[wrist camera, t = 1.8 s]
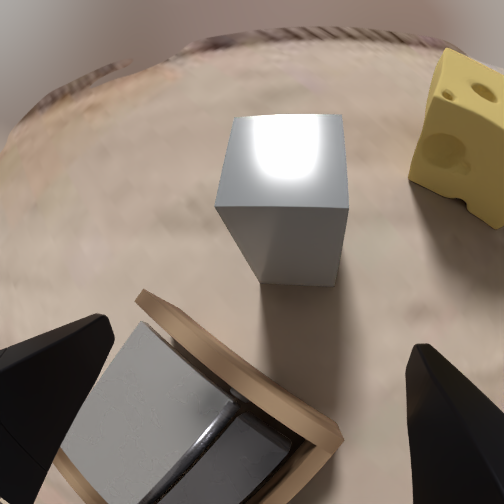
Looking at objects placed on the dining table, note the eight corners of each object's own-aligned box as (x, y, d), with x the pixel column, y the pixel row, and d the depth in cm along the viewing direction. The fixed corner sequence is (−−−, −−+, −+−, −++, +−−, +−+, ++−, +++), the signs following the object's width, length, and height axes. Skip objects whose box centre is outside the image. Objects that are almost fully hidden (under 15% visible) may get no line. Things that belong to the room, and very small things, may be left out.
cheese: (497, 234, 20) (555, 168, 10) (398, 179, 23) (424, 91, 14) (505, 159, 22) (540, 94, 13) (423, 115, 26) (440, 40, 17)
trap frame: (336, 422, 17) (344, 440, 12) (205, 550, 14) (179, 583, 9) (179, 308, 23) (143, 288, 18) (84, 440, 20) (40, 445, 14)
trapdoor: (295, 437, 15) (292, 448, 12) (180, 546, 12) (163, 563, 10) (154, 325, 19) (132, 317, 16) (73, 441, 16) (48, 444, 14)
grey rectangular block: (334, 286, 21) (349, 208, 11) (260, 283, 22) (214, 206, 12) (335, 219, 23) (341, 114, 13) (267, 218, 24) (234, 117, 14)
